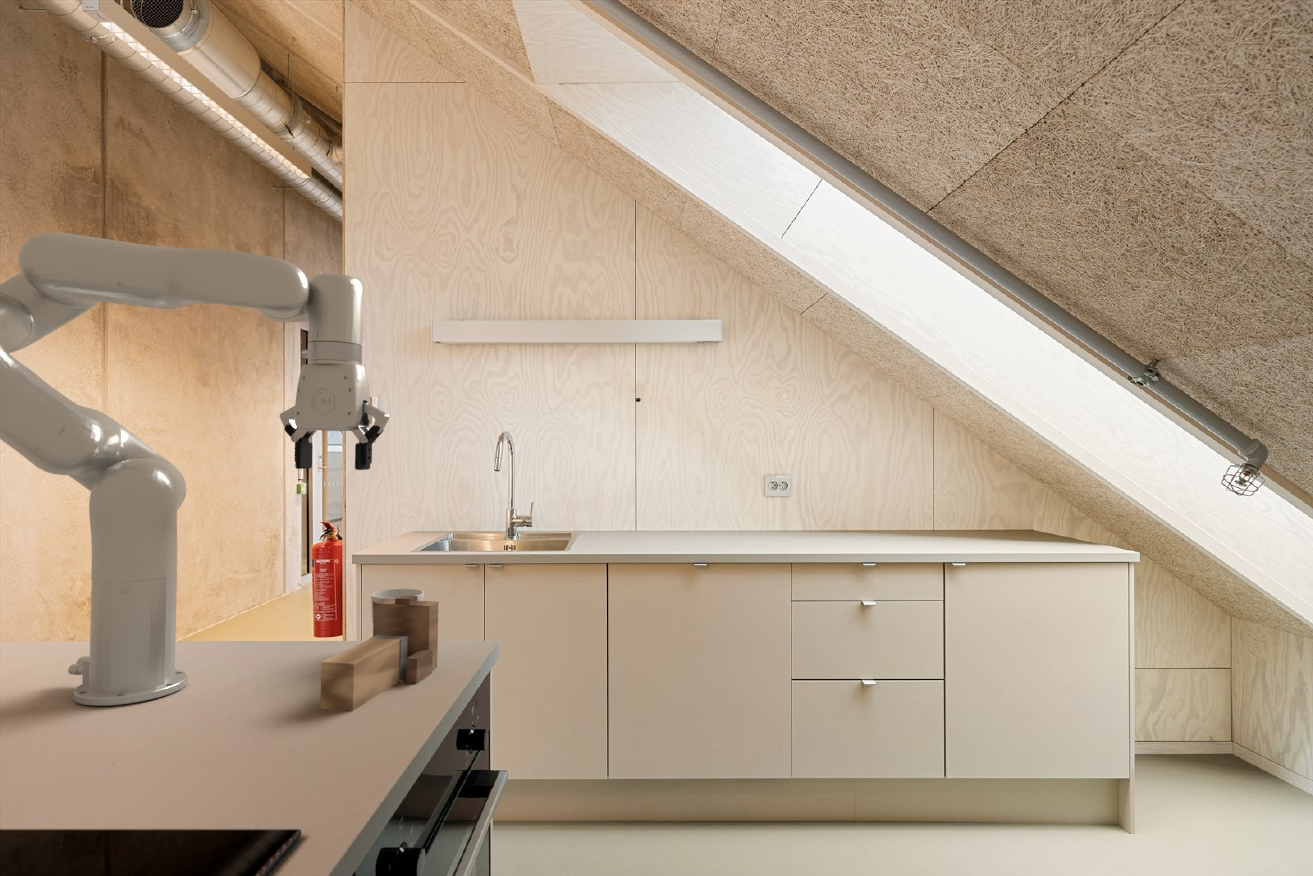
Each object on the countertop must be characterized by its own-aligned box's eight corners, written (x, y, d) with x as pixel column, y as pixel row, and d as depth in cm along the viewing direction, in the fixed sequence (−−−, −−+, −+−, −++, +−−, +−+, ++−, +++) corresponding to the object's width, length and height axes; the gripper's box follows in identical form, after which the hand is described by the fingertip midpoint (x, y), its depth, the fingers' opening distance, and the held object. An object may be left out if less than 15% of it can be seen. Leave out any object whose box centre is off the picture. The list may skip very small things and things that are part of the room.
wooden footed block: (350, 679, 105) (351, 604, 105) (378, 663, 113) (380, 593, 113) (416, 683, 104) (418, 607, 104) (440, 667, 112) (442, 596, 112)
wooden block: (319, 708, 93) (320, 661, 93) (376, 675, 107) (377, 634, 107) (354, 711, 93) (355, 664, 93) (406, 677, 107) (407, 636, 107)
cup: (359, 660, 115) (360, 596, 115) (386, 646, 123) (388, 587, 123) (407, 663, 113) (408, 599, 113) (431, 649, 121) (432, 589, 121)
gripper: (267, 354, 108) (264, 468, 108) (375, 353, 106) (373, 470, 105) (298, 360, 116) (296, 467, 115) (400, 359, 113) (398, 469, 113)
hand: (333, 469), depth 110 cm, fingers open, 9 cm apart
